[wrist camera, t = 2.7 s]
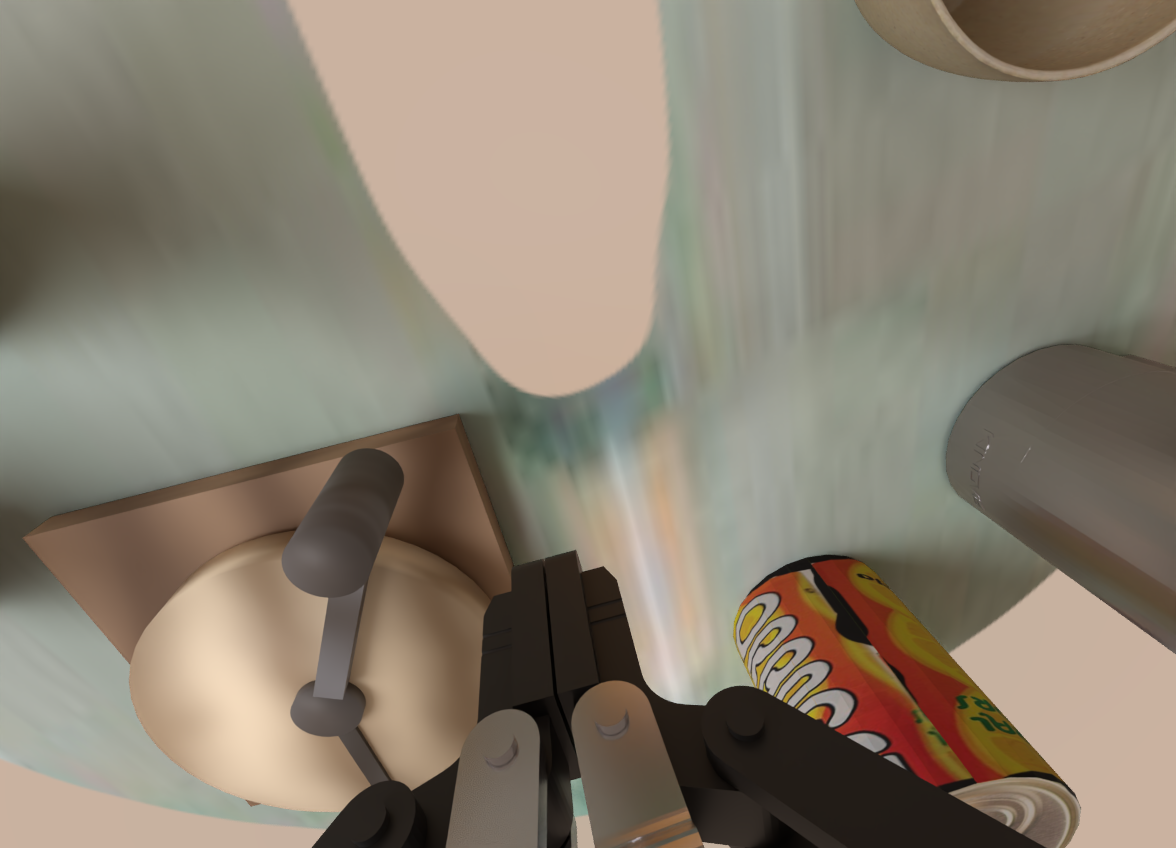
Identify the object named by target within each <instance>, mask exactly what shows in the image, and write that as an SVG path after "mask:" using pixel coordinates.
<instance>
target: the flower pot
mask: <svg viewBox="0 0 1176 848" xmlns="http://www.w3.org/2000/svg"><path fill="white" fill-rule="evenodd" d="M855 2H856V4H857V6H858V8H859V10H860V12H861V14H862V15H863V17H864V18H865V19H866V21H867V22H868V24H869V25H870V26H871V27H872V28H873V30H874V31H875V32H876V33H877V34H878V35H879V36H880V37H882V38H883V39H884V40H885V41H886V42H888V43H889V44H890V45H891V46H893V47H894V48H896V49H897V50H899V51H900V52H902V53H903V54H905V55H907V56H909V57H910V58H912V59H914V60H916V61H919V62H921V63H923V64H925V65H928V66H931V67H933V68H936V69H939V70H942V71H946V72H949V73H953V74H957V75H962V76H968V77H973V78H980V79H988V80H998V81H1011V82H1043V81H1061V80H1069V79H1075V78H1081V77H1085V76H1089V75H1093V74H1096V73H1099V72H1102V71H1105V70H1108V69H1110V68H1113V67H1116V66H1118V65H1120V64H1123V63H1125V62H1127V61H1129V60H1131V59H1133V58H1135V57H1136V56H1138V55H1140V54H1141V53H1143V52H1145V51H1147V50H1148V49H1150V48H1151V47H1153V46H1155V45H1156V44H1158V43H1160V42H1161V41H1162V40H1164V39H1165V38H1167V37H1168V36H1169V35H1171V34H1172V33H1173V32H1175V31H1176V0H855Z"/></svg>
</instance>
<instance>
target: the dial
mask: <svg viewBox="0 0 1176 848" xmlns="http://www.w3.org/2000/svg"><path fill="white" fill-rule="evenodd" d="M403 484H404V474H403V470H402V468H401V466H400V465H399V463H398V462H397V461H396V460H395V459H394V458H393V457H392V456H390V455H389V454H387V453H385V452H383V451H381V450H377V449H372V448H362V449H357V450H354V451H351V452H349V453H348V454H346V455H345V456H344V457H343V458H342V459H341V460H340V462H339V463H338V465H337V467H336V468H335V470H334V471H333V473H332V474H331V476H330V478H329V479H328V481H327V482H326V484H325V486H324V487H323V489H322V490H321V492H320V493H319V495H318V497H317V498H316V500H315V501H314V503H313V505H312V506H311V508H310V509H309V511H308V512H307V514H306V516H305V517H304V519H303V520H302V522H301V523H300V525H299V527H298V528H297V530H296V531H288V532H283V533H278V534H273V535H267V536H264V537H260V538H257V539H254V540H251V541H248V542H245V543H242V544H240V545H237V546H235V547H233V548H231V549H229V550H227V551H224V552H222V553H220V554H219V555H217V556H216V557H214V558H212V559H211V560H209V561H208V562H206V563H205V564H203V565H202V566H201V567H199V568H198V569H197V570H196V571H195V572H194V573H193V574H191V575H190V576H189V577H188V578H187V579H186V580H185V581H184V582H183V584H182V585H181V586H180V587H179V588H178V590H177V591H176V592H175V593H174V594H173V596H172V597H171V598H170V599H169V600H168V602H167V603H166V604H165V605H164V607H163V608H162V609H161V610H160V611H159V613H158V614H157V615H156V616H155V617H154V619H153V620H152V621H151V622H150V624H149V625H148V626H147V627H146V628H145V630H144V632H143V634H142V636H141V637H140V639H139V641H138V643H137V645H136V647H135V650H134V654H133V657H132V660H131V664H130V676H129V685H130V692H131V699H132V702H133V705H134V708H135V711H136V714H137V717H138V718H139V720H140V722H141V724H142V726H143V727H144V729H145V731H146V733H147V734H148V735H149V736H150V738H151V739H152V740H153V741H154V743H155V744H156V745H157V747H158V748H159V749H160V750H161V751H163V752H164V753H165V754H166V755H167V756H168V757H169V758H170V759H171V760H172V761H173V762H175V763H176V764H177V765H179V766H180V767H181V768H183V769H184V770H185V771H187V772H188V773H189V774H191V775H193V776H195V777H196V778H198V779H200V780H201V781H203V782H205V783H206V784H209V785H211V786H213V787H215V788H217V789H219V790H222V791H224V792H226V793H229V794H232V795H234V796H237V797H240V798H243V799H246V800H249V801H253V802H257V803H260V804H264V805H268V806H274V807H279V808H285V809H291V810H301V811H311V812H341V811H342V810H343V809H344V808H345V807H346V805H347V804H348V803H349V802H350V801H351V800H352V799H353V798H354V797H355V796H357V795H358V794H359V793H360V792H362V791H363V790H365V789H366V788H368V787H370V786H372V785H374V784H376V783H379V782H383V781H389V780H394V781H399V782H402V783H404V784H405V785H406V786H408V787H409V788H410V790H411V791H412V790H414V789H415V788H417V787H419V786H420V785H422V784H423V783H425V782H427V781H428V780H430V779H431V778H433V777H435V776H436V775H438V774H439V773H441V772H443V771H444V770H445V769H447V768H448V767H450V766H451V765H452V764H453V763H454V762H455V761H456V760H457V759H458V758H459V757H460V754H461V750H462V747H463V744H464V742H465V740H466V738H467V736H468V735H469V733H470V732H471V731H472V729H473V728H474V727H475V726H476V725H477V720H478V706H479V688H480V671H481V656H482V640H483V618H484V614H485V612H486V610H487V608H488V606H489V604H490V602H491V600H490V599H489V598H488V596H487V595H486V594H485V593H484V592H483V591H482V589H481V588H480V587H479V586H478V585H477V584H476V583H475V582H474V581H473V580H472V579H470V578H469V577H468V576H467V575H465V574H464V573H463V572H462V571H460V570H459V569H458V568H457V567H455V566H453V565H452V564H450V563H449V562H447V561H445V560H444V559H442V558H440V557H439V556H437V555H435V554H433V553H431V552H428V551H426V550H424V549H422V548H420V547H418V546H415V545H412V544H409V543H406V542H404V541H401V540H398V539H395V538H391V537H387V536H385V533H386V530H387V528H388V525H389V522H390V520H391V517H392V514H393V512H394V509H395V506H396V504H397V501H398V498H399V496H400V493H401V490H402V488H403Z"/></svg>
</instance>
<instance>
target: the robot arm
mask: <svg viewBox="0 0 1176 848" xmlns="http://www.w3.org/2000/svg"><path fill="white" fill-rule="evenodd" d="M946 472H947V475H948V478H949V481H950V484H951V486H952V487H953V488H954V490H955V491H956V493H957V494H958V495H959V496H960V497H961V498H963V499H964V500H965V501H967V502H968V503H969V504H971V505H972V506H973V507H975V508H976V509H977V510H979V511H980V512H982V513H983V514H984V515H986V516H987V517H988V518H990V519H991V520H992V521H994V522H995V523H997V524H998V525H999V526H1001V527H1002V528H1003V529H1005V530H1006V531H1007V532H1009V533H1010V534H1012V535H1013V536H1014V537H1016V538H1017V539H1018V540H1020V541H1021V542H1022V543H1024V544H1025V545H1026V546H1027V547H1029V548H1030V549H1031V550H1033V551H1034V552H1036V553H1037V554H1038V555H1040V556H1041V557H1042V558H1044V559H1045V560H1047V561H1048V562H1049V563H1051V564H1052V565H1054V566H1055V567H1056V568H1058V569H1059V570H1060V571H1062V572H1063V573H1065V574H1066V575H1067V576H1069V577H1070V578H1071V579H1073V580H1074V581H1076V582H1077V583H1078V584H1080V585H1081V586H1083V587H1084V588H1085V589H1087V590H1088V591H1089V592H1091V593H1092V594H1094V595H1095V596H1096V597H1098V598H1099V599H1100V600H1102V601H1103V602H1105V603H1106V604H1107V605H1109V606H1110V607H1111V608H1113V609H1114V610H1116V611H1117V612H1118V613H1120V614H1121V615H1122V616H1124V617H1125V618H1127V619H1128V620H1129V621H1131V622H1132V623H1134V624H1135V625H1136V626H1138V627H1139V628H1140V629H1142V630H1143V631H1144V632H1146V633H1147V634H1149V635H1150V636H1151V637H1153V638H1154V639H1156V640H1157V641H1158V642H1160V643H1161V644H1162V645H1164V646H1165V647H1167V648H1168V649H1169V650H1171V651H1172V652H1173V653H1175V654H1176V368H1175V367H1172V366H1168V365H1165V364H1162V363H1158V362H1155V361H1151V360H1148V359H1144V358H1141V357H1137V356H1134V355H1125V356H1118V355H1115V354H1111V353H1108V352H1105V351H1101V350H1098V349H1095V348H1091V347H1086V346H1081V345H1077V344H1076V345H1057V346H1052V347H1048V348H1044V349H1040V350H1037V351H1035V352H1032V353H1030V354H1028V355H1026V356H1023V357H1021V358H1019V359H1017V360H1015V361H1014V362H1012V363H1011V364H1009V365H1008V366H1006V367H1005V368H1003V369H1001V370H1000V371H998V372H997V373H996V374H995V375H994V376H993V377H992V378H990V379H989V380H988V381H987V382H986V383H985V384H984V385H982V386H981V388H980V389H979V390H978V391H977V392H976V393H975V394H974V396H973V397H972V398H971V399H970V400H969V401H968V403H967V404H966V406H965V407H964V409H963V411H962V412H961V414H960V415H959V417H958V419H957V420H956V423H955V425H954V427H953V430H952V432H951V435H950V437H949V441H948V446H947V451H946ZM577 778H581V779H582V784H583V789H584V794H585V799H586V804H587V809H588V814H589V819H590V824H591V829H592V834H593V839H594V844H595V848H704V845H703V843H702V842H707V843H715V844H723V845H729V846H730V847H731V848H1046V847H1044V846H1043V845H1041V844H1039V843H1037V842H1035V841H1034V840H1032V839H1030V838H1028V837H1026V836H1025V835H1023V834H1021V833H1019V832H1017V831H1016V830H1014V829H1012V828H1010V827H1008V826H1007V825H1005V824H1003V823H1001V822H999V821H998V820H996V819H994V818H992V817H990V816H989V815H987V814H985V813H983V812H981V811H980V810H978V809H976V808H974V807H972V806H971V805H969V804H967V803H965V802H963V801H962V800H960V799H958V798H956V797H954V796H953V795H951V794H949V793H947V792H945V791H944V790H942V789H940V788H938V787H936V786H935V785H933V784H931V783H929V782H927V781H926V780H924V779H922V778H920V777H918V776H917V775H915V774H913V773H911V772H909V771H908V770H906V769H904V768H902V767H900V766H899V765H897V764H895V763H893V762H891V761H890V760H888V759H886V758H884V757H882V756H881V755H879V754H877V753H875V752H873V751H872V750H870V749H868V748H866V747H864V746H863V745H861V744H859V743H857V742H855V741H854V740H852V739H850V738H848V737H846V736H845V735H843V734H841V733H839V732H837V731H836V730H834V729H832V728H830V727H828V726H827V725H825V724H823V723H821V722H819V721H818V720H816V719H814V718H812V717H810V716H809V715H807V714H805V713H803V712H801V711H800V710H798V709H796V708H794V707H792V706H791V705H789V704H787V703H785V702H783V701H782V700H780V699H778V698H776V697H774V696H773V695H771V694H769V693H767V692H765V691H763V690H761V689H758V688H754V687H749V686H734V687H729V688H726V689H724V690H722V691H720V692H718V693H717V694H715V695H714V696H713V697H712V698H711V699H710V700H709V701H708V703H707V704H706V706H703V705H685V704H677V703H673V702H670V701H667V700H665V699H663V698H661V697H660V696H658V695H656V694H655V693H654V692H653V691H652V690H651V689H650V688H649V687H648V685H647V684H646V682H645V681H644V679H643V676H642V673H641V669H640V666H639V662H638V658H637V654H636V651H635V647H634V643H633V639H632V636H631V632H630V628H629V624H628V621H627V617H626V613H625V609H624V606H623V602H622V598H621V594H620V591H619V587H618V583H617V580H616V579H615V578H614V577H613V576H612V575H611V574H610V573H609V572H608V571H607V570H606V569H605V568H604V567H599V568H596V569H592V570H588V571H584V572H583V571H582V568H581V564H580V561H579V558H578V554H577V551H576V550H574V551H570V552H566V553H562V554H559V555H555V556H551V557H547V558H545V561H544V559H541V560H537V561H533V562H529V563H526V564H522V565H518V566H514V567H512V569H511V591H510V592H507V593H503V594H499V595H495V596H493V598H492V600H491V602H490V604H489V606H488V608H487V610H486V612H485V614H484V618H483V640H482V656H481V671H480V688H479V706H478V720H477V725H476V726H475V727H474V728H473V729H472V731H471V732H470V733H469V735H468V736H467V738H466V740H465V742H464V744H463V747H462V750H461V754H460V757H459V758H458V759H457V760H456V761H455V762H454V763H453V764H452V765H451V766H450V767H448V768H447V769H445V770H444V771H443V772H441V773H439V774H438V775H436V776H435V777H433V778H431V779H430V780H428V781H427V782H425V783H423V784H422V785H420V786H419V787H417V788H415V789H414V790H412V791H411V790H410V788H409V787H408V786H406V785H405V784H404V783H402V782H399V781H394V780H389V781H383V782H379V783H376V784H374V785H372V786H370V787H368V788H366V789H365V790H363V791H362V792H360V793H359V794H358V795H357V796H355V797H354V798H353V799H352V800H351V801H350V802H349V803H348V804H347V805H346V807H345V808H344V809H343V810H342V811H341V813H340V814H339V815H338V816H337V817H336V819H335V820H334V821H333V822H332V824H331V825H330V826H329V827H328V828H327V830H326V831H325V832H324V833H323V835H322V836H321V837H320V838H319V840H318V841H317V842H316V843H315V844H314V846H313V847H312V848H577V827H576V821H575V817H574V815H573V802H572V792H571V782H570V780H574V779H577Z"/></svg>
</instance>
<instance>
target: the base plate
mask: <svg viewBox="0 0 1176 848" xmlns="http://www.w3.org/2000/svg"><path fill="white" fill-rule="evenodd" d="M362 448H372V449H377V450H381V451H383V452H385V453H387V454H389V455H390V456H392V457H393V458H394V459H395V460H396V461H397V462H398V463H399V465H400V466H401V468H402V470H403V474H404V484H403V488H402V490H401V493H400V496H399V498H398V501H397V504H396V506H395V509H394V512H393V514H392V517H391V520H390V522H389V525H388V528H387V530H386V533H385V536H387V537H391V538H395V539H398V540H401V541H404V542H406V543H409V544H412V545H415V546H418V547H420V548H422V549H424V550H426V551H428V552H431V553H433V554H435V555H437V556H439V557H440V558H442V559H444V560H445V561H447V562H449V563H450V564H452V565H453V566H455V567H457V568H458V569H459V570H460V571H462V572H463V573H464V574H465V575H467V576H468V577H469V578H470V579H472V580H473V581H474V582H475V583H476V584H477V585H478V586H479V587H480V588H481V589H482V591H483V592H484V593H485V594H486V595H487V596H488V598H489V599H490V600H492V598H493V596H495V595H499V594H503V593H507V592H510V591H511V569H512V567H514V565H513V562H512V559H511V557H510V554H509V551H508V548H507V545H506V543H505V540H504V537H503V534H502V532H501V529H500V526H499V523H498V521H497V518H496V515H495V512H494V510H493V507H492V504H491V501H490V499H489V496H488V493H487V490H486V488H485V485H484V482H483V479H482V476H481V474H480V471H479V468H478V465H477V463H476V460H475V457H474V454H473V452H472V449H471V446H470V443H469V441H468V438H467V435H466V432H465V430H464V427H463V424H462V421H461V419H460V416H459V414H456V415H452V416H448V417H444V418H440V419H436V420H432V421H428V422H425V423H421V424H417V425H413V426H409V427H405V428H401V429H397V430H393V431H389V432H385V433H381V434H377V435H373V436H369V437H365V438H361V439H357V440H353V441H349V442H345V443H341V444H338V445H334V446H330V447H326V448H322V449H318V450H314V451H310V452H306V453H302V454H298V455H294V456H290V457H286V458H282V459H278V460H274V461H270V462H266V463H262V464H258V465H254V466H250V467H247V468H243V469H239V470H235V471H231V472H227V473H223V474H219V475H215V476H211V477H207V478H203V479H199V480H195V481H191V482H187V483H183V484H179V485H175V486H171V487H167V488H163V489H160V490H156V491H152V492H148V493H144V494H140V495H136V496H132V497H128V498H124V499H120V500H116V501H112V502H108V503H104V504H100V505H96V506H92V507H88V508H84V509H80V510H76V511H73V512H69V513H65V514H61V515H57V516H53V517H51V518H49V519H48V520H46V521H45V522H44V523H42V524H41V525H39V526H38V527H37V528H35V529H34V530H33V531H31V532H30V533H28V534H27V535H26V536H24V537H23V539H24V541H25V542H26V543H27V544H28V545H29V546H30V548H31V549H32V550H33V551H34V552H35V554H36V555H37V556H38V557H39V558H40V559H41V561H42V562H43V563H44V564H45V565H46V566H47V568H48V569H49V570H50V571H51V572H52V573H53V575H54V576H55V577H56V578H57V579H58V581H59V582H60V583H61V584H62V585H63V586H64V588H65V589H66V590H67V591H68V592H69V593H70V595H71V596H72V597H73V598H74V599H75V600H76V602H77V603H78V604H79V605H80V606H81V608H82V609H83V610H84V611H85V612H86V613H87V615H88V616H89V617H90V618H91V619H92V620H93V622H94V623H95V624H96V625H97V626H98V627H99V629H100V630H101V631H102V632H103V633H104V635H105V636H106V637H107V638H108V639H109V640H110V642H111V643H112V644H113V645H114V646H115V647H116V649H117V650H118V651H119V652H120V653H121V654H122V656H123V657H124V658H125V659H126V660H127V662H128V663H129V664H131V660H132V657H133V654H134V650H135V647H136V645H137V643H138V641H139V639H140V637H141V636H142V634H143V632H144V630H145V628H146V627H147V626H148V625H149V624H150V622H151V621H152V620H153V619H154V617H155V616H156V615H157V614H158V613H159V611H160V610H161V609H162V608H163V607H164V605H165V604H166V603H167V602H168V600H169V599H170V598H171V597H172V596H173V594H174V593H175V592H176V591H177V590H178V588H179V587H180V586H181V585H182V584H183V582H184V581H185V580H186V579H187V578H188V577H189V576H190V575H191V574H193V573H194V572H195V571H196V570H197V569H198V568H199V567H201V566H202V565H203V564H205V563H206V562H208V561H209V560H211V559H212V558H214V557H216V556H217V555H219V554H220V553H222V552H224V551H227V550H229V549H231V548H233V547H235V546H237V545H240V544H242V543H245V542H248V541H251V540H254V539H257V538H260V537H264V536H267V535H273V534H278V533H283V532H288V531H296V530H297V528H298V527H299V525H300V523H301V522H302V520H303V519H304V517H305V516H306V514H307V512H308V511H309V509H310V508H311V506H312V505H313V503H314V501H315V500H316V498H317V497H318V495H319V493H320V492H321V490H322V489H323V487H324V486H325V484H326V482H327V481H328V479H329V478H330V476H331V474H332V473H333V471H334V470H335V468H336V467H337V465H338V463H339V462H340V460H341V459H342V458H343V457H344V456H345V455H346V454H348V453H349V452H351V451H354V450H357V449H362ZM245 800H246V799H245ZM246 801H247V802H248V804H249V805H250V806H254V805H258V804H260V803H257V802H253V801H249V800H246Z"/></svg>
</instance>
